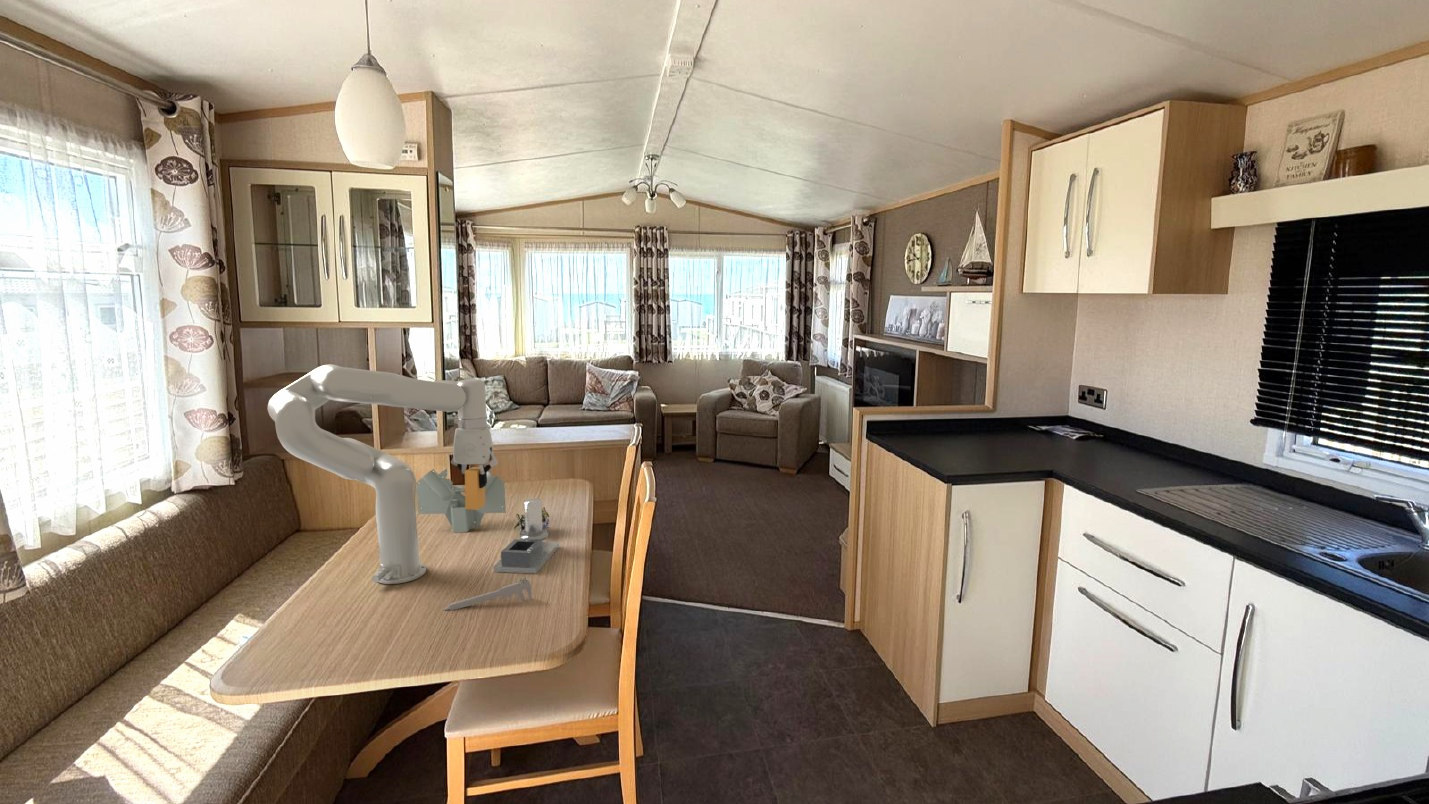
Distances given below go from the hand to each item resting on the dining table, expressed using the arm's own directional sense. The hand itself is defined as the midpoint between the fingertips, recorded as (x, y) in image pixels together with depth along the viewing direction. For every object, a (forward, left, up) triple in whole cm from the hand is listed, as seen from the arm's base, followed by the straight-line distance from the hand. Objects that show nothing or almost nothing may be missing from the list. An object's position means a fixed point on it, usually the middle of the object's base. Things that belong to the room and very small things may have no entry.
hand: (475, 485), depth 191 cm
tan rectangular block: (-1, 0, -6) cm, 6 cm away
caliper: (-30, -16, -21) cm, 40 cm away
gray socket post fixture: (-2, -15, -21) cm, 26 cm away
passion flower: (+17, -9, -21) cm, 29 cm away
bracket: (+20, +15, -21) cm, 33 cm away
